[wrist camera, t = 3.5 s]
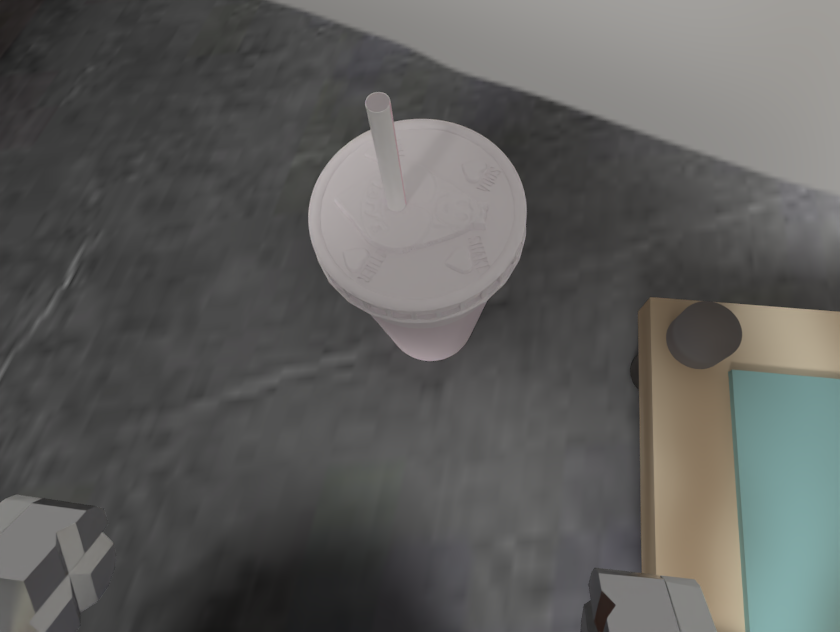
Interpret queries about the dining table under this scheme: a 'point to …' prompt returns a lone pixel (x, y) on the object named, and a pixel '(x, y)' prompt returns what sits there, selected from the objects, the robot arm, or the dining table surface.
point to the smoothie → (418, 227)
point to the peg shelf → (742, 459)
